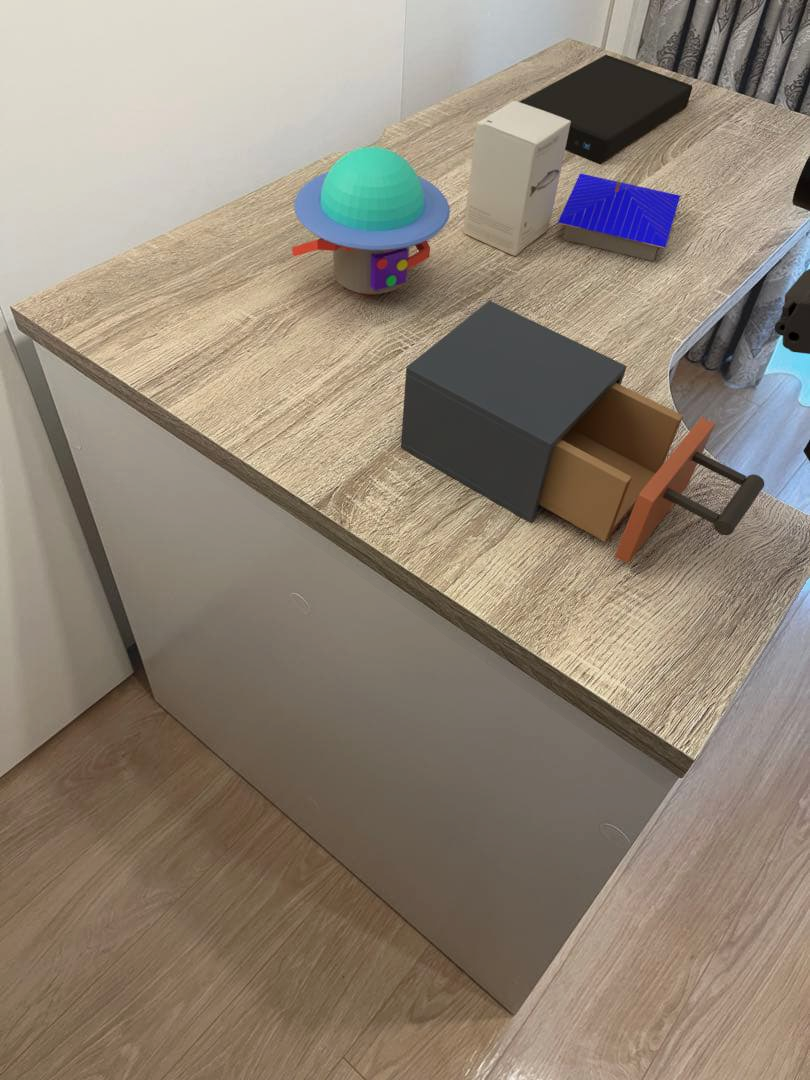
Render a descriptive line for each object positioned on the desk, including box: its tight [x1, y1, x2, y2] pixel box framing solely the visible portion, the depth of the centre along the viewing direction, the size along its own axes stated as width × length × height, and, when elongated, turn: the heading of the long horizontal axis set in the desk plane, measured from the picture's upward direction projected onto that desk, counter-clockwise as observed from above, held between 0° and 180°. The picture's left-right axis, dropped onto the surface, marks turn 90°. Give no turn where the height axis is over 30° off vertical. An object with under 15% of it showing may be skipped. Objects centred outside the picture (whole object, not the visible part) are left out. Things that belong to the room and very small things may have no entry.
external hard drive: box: [518, 54, 693, 165], centre depth 117 cm, size 14×23×3 cm, turn 140°
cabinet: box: [400, 300, 627, 524], centre depth 72 cm, size 13×12×9 cm
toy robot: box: [292, 146, 451, 296], centre depth 84 cm, size 15×15×14 cm
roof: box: [557, 173, 681, 262], centre depth 98 cm, size 12×12×5 cm
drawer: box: [539, 382, 765, 564], centre depth 68 cm, size 18×11×7 cm, turn 53°
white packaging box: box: [462, 100, 571, 257], centre depth 93 cm, size 7×7×13 cm
